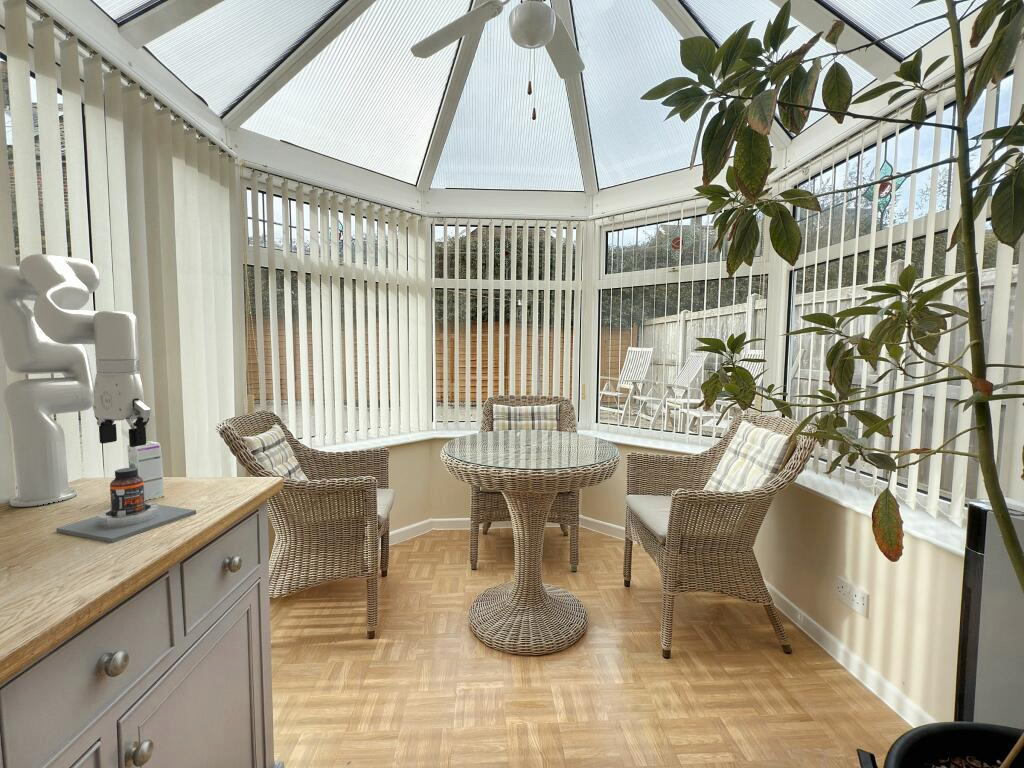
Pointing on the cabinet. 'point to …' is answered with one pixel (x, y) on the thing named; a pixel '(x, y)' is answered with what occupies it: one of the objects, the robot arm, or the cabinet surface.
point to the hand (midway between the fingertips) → (123, 444)
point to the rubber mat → (112, 534)
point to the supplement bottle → (127, 493)
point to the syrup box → (148, 467)
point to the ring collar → (128, 517)
